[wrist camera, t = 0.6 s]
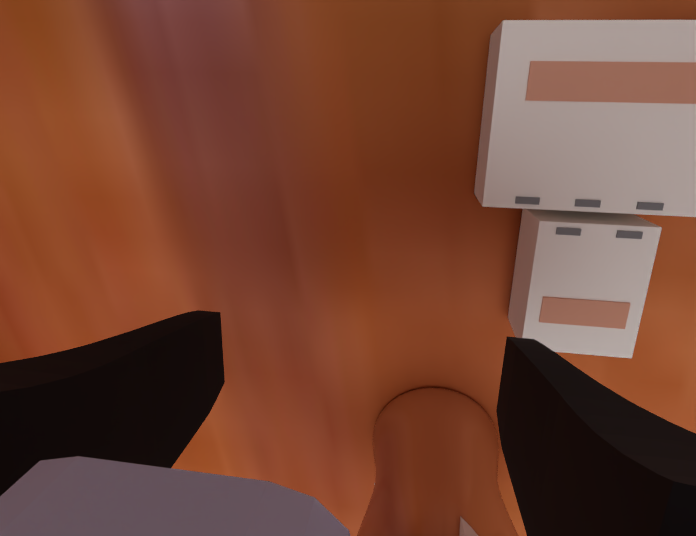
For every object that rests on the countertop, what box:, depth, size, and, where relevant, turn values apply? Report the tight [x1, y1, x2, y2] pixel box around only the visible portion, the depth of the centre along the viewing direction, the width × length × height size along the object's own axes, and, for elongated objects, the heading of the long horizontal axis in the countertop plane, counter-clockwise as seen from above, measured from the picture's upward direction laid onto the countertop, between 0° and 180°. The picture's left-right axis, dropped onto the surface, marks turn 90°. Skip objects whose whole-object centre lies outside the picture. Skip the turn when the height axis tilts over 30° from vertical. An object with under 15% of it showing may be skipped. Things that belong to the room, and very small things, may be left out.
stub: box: [508, 209, 662, 358], centre depth 19 cm, size 4×5×3 cm
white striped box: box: [474, 20, 696, 217], centre depth 17 cm, size 13×6×3 cm, turn 89°
